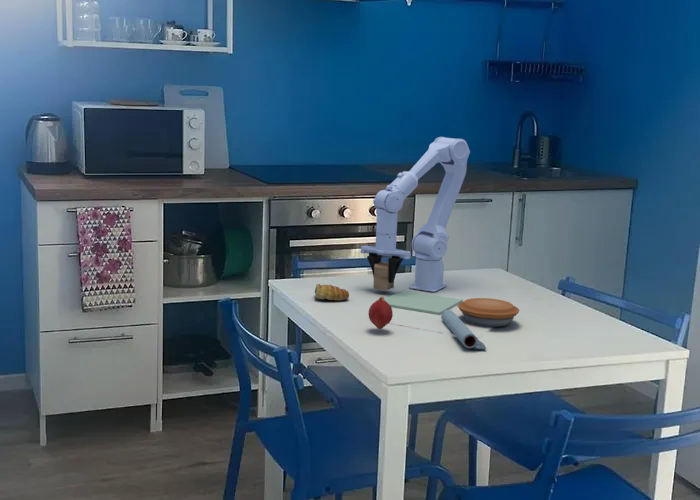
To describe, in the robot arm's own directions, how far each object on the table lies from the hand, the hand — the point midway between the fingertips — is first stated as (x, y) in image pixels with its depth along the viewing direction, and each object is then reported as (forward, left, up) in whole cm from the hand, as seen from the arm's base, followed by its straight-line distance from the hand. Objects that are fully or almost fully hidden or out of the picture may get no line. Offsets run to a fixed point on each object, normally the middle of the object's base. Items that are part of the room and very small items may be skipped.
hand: (383, 281), depth 249 cm
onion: (+35, +15, -4) cm, 38 cm away
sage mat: (+4, +13, -4) cm, 14 cm away
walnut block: (0, 0, -2) cm, 2 cm away
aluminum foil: (+26, +33, -4) cm, 43 cm away
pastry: (+17, -6, -5) cm, 19 cm away
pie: (+11, +34, -4) cm, 36 cm away
